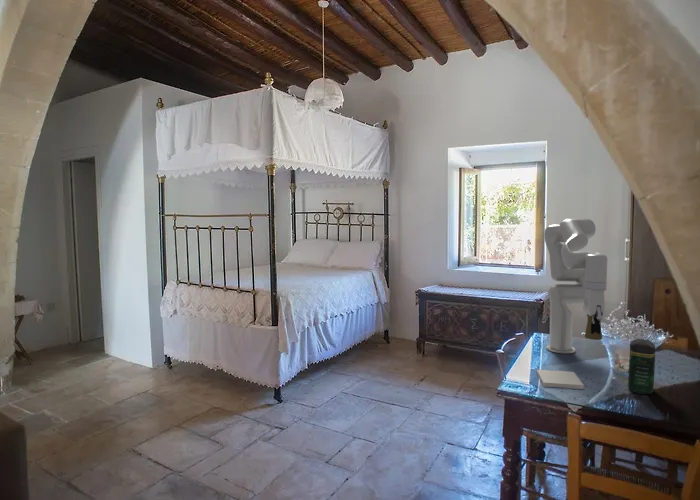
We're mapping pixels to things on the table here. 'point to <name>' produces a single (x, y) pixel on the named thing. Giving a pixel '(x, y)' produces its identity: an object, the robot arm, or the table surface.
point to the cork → (588, 330)
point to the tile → (559, 379)
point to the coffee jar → (641, 366)
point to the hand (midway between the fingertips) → (593, 331)
